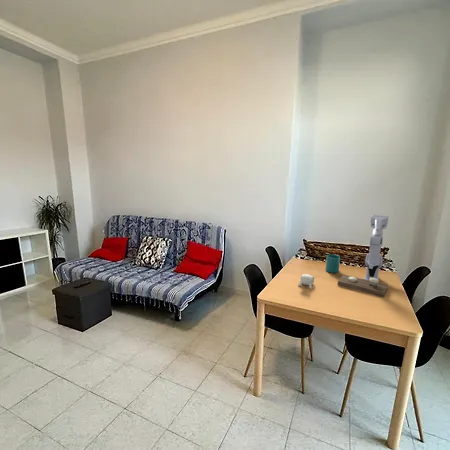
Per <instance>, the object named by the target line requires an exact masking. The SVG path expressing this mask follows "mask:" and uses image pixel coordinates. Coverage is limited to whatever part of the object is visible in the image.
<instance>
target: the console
mask: <svg viewBox="0 0 450 450" xmlns="http://www.w3.org/2000/svg"><path fill="white" fill-rule="evenodd" d="M349 277H355V278H357V282H351V281H349V280H348V278H349ZM337 286H340V287H342V288H347V289H351V290H354V291H358V292H362V293H365V294H369V295H373V296H376V297H381V298H385V296H386V293H387V291H388V289H389V284H385V283H381V282H378V283H376V287H373V286H371V282H370V281H369V280H365V279H364V278H360V277H356V276H352V275H348V274H343V275H342V276H341V277H340V278H339V279H338V280H337Z"/></svg>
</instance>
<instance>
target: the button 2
mask: <svg viewBox="0 0 450 450" xmlns="http://www.w3.org/2000/svg"><path fill="white" fill-rule="evenodd" d="M369 281H370V282H371V286H373V287H376V283H380V282H379V281H380V279H379V280H378V279H376V278H370V279H369Z"/></svg>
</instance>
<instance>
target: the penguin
mask: <svg viewBox="0 0 450 450" xmlns="http://www.w3.org/2000/svg"><path fill="white" fill-rule="evenodd" d="M314 282H315V276H313V275H311V274H308V273H303V274H301V276H300V281H299V283H298V285H297V286H298V287H301V286H302V284H303V285H305V286H309V289H310V290H312V289H313V286H312V285H313V284H314Z"/></svg>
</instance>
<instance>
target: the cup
mask: <svg viewBox="0 0 450 450" xmlns="http://www.w3.org/2000/svg"><path fill="white" fill-rule="evenodd" d="M325 261H326V262H325V271H326V272H328V273H331V274H337V273H339V271H340V263H341V256H340V255H337V254H327V255H326V260H325Z"/></svg>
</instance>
